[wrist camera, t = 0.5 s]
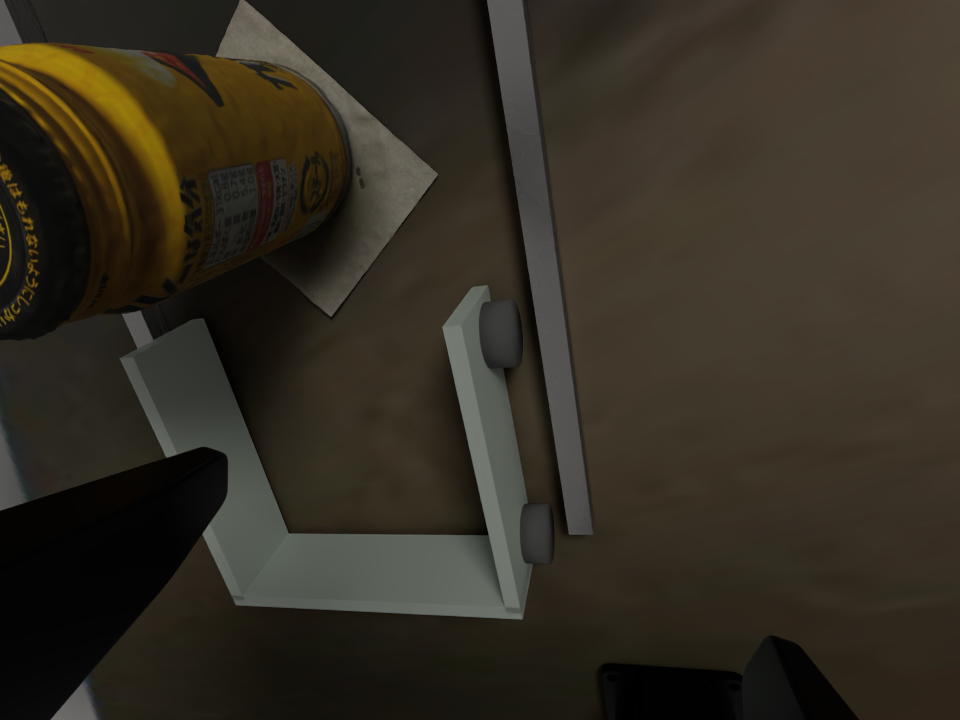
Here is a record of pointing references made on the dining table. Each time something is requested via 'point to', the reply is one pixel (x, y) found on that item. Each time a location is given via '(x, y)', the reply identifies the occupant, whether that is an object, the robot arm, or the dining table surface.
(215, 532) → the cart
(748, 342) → the dining table surface
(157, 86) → the condiment
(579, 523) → the rails
